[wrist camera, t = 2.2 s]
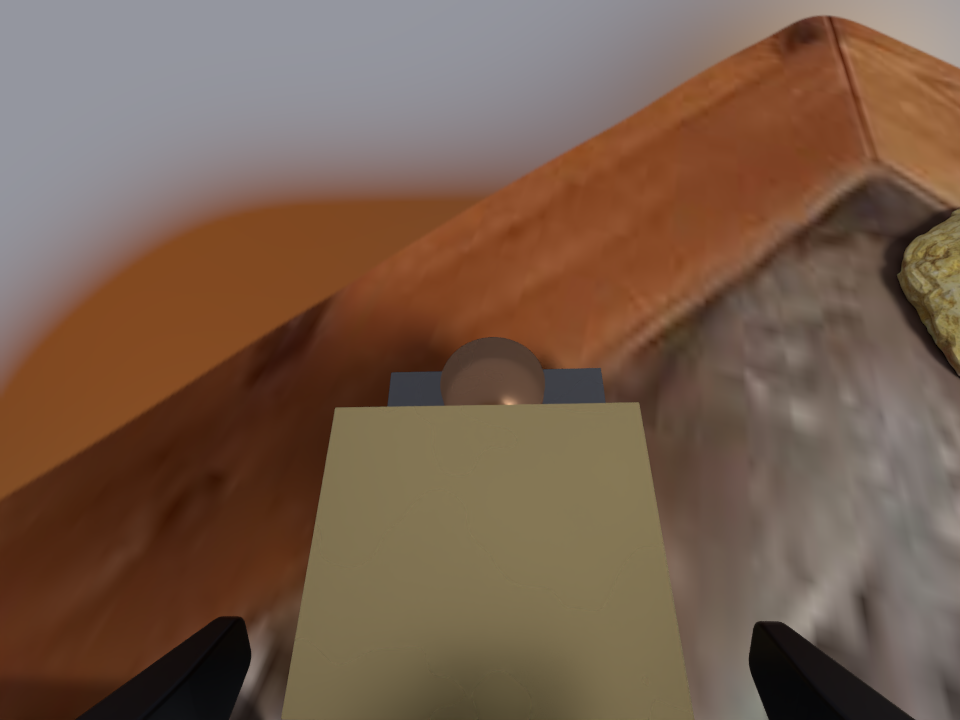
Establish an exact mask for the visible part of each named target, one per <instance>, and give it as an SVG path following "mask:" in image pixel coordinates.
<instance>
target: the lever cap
mask: <svg viewBox="0 0 960 720" xmlns="http://www.w3.org/2000/svg"><path fill="white" fill-rule="evenodd" d="M281 719H291V720H694V715H693V710H692V704H691V698H690V692H689V687H688V681H687V675H686V669H685V664H684V658H683V652H682V647H681V641H680V635H679V629H678V624H677V618H676V612H675V606H674V601H673V595H672V589H671V584H670V578H669V572H668V566H667V561H666V555H665V549H664V543H663V538H662V532H661V526H660V521H659V515H658V509H657V503H656V498H655V492H654V486H653V480H652V475H651V469H650V463H649V458H648V452H647V446H646V440H645V435H644V429H643V423H642V417H641V412H640V406H639V403H580V404H520V405H460V406H401V407H341V408H335V412H334V418H333V424H332V430H331V435H330V441H329V447H328V453H327V458H326V464H325V470H324V476H323V481H322V487H321V493H320V498H319V504H318V510H317V516H316V521H315V527H314V533H313V539H312V544H311V550H310V556H309V562H308V567H307V573H306V579H305V585H304V590H303V596H302V602H301V608H300V613H299V619H298V625H297V631H296V636H295V642H294V648H293V653H292V659H291V665H290V671H289V676H288V682H287V688H286V694H285V699H284V705H283V711H282V717H281Z"/></svg>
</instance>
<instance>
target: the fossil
mask: <svg viewBox="0 0 960 720" xmlns="http://www.w3.org/2000/svg"><path fill="white" fill-rule="evenodd" d="M903 257H904V258H903V260H902V264H901V272H900V273H899V274H897V277H898V280H899V282H900V286H901V288H902V290H903V292H904V294H905V296H906V298H907V300H908V301H909V302H910V303H911V304H912V305H913V306H914V307H915V308H916V310H917V312H918V314H919V316H920V319H921V321H922V323H923V324H924V325H925V326H926V327H927V331H928V332H929V333H930V334H931V336H932V337H933V339H934V341H935V343H936V345H937V346H938V347H939V348H940V349H941V350H942V352H943V353H944V354H945V356H946V358H947V360H948V362H949V363H950V365H951V366H952V367H953V368H954V369H955V371H956V372H957V374H958V375H959V376H960V209H958V210H956V211H954V212H952V213H951V217H950V218H949V219H947V220H946V221H944V222H942V223H940V224H938V225H937V226H935V227H933V228H932V229H931V230H930V231H929V232H927V233H926V234H923V235H920V236H918V237H916V238H915V239H914V240H913V241H912V242H911V243H910V244H909V246H908V247H907V248H906V250H905V252H904V254H903Z"/></svg>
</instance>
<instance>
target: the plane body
mask: <svg viewBox="0 0 960 720" xmlns="http://www.w3.org/2000/svg"><path fill="white" fill-rule="evenodd" d="M580 403H605V396H604V388H603V381H602V374H601V368H585V369H542V367H541V364H540V362H539V361H538V359H537V358H536V357H535V355H534V354H533V353H532V352H531V351H530V350H529V349H527V348H526V347H525V346H523V345H521V344H519V343H518V342H515V341H513V340H509V339H506V338H499V337H488V338H482V339H477V340H474V341H472V342H469V343H467V344H465V345H464V346H462V347H461V348H459V349H458V350H457V351H456V352H455V353H454V354H453V355H452V356H451V357H450V358H449V359H448V361H447V363H446V364H445V366H444V369H443V371H441V372H393V373H391V380H390V389H389V398H388V407H401V406H460V405H520V404H580Z"/></svg>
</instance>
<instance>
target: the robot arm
mask: <svg viewBox="0 0 960 720" xmlns="http://www.w3.org/2000/svg"><path fill="white" fill-rule="evenodd" d="M250 661H251V648H250V643H249V639H248V634H247V629H246V625H245V621H244V620H243V618H242V617H238V616H222V617H218V618H216V619H215V620H213V621H212V622H210V623H209V624H208V625H206V626H205V627H203V628H202V629H201V630H199V631H198V632H197V633H195V634H194V635H192V636H191V637H190V638H188V639H187V640H185V641H184V642H183V643H181V644H180V645H178V646H177V647H176V648H174V649H173V650H171V651H170V652H169V653H167V654H166V655H164V656H163V657H162V658H160V659H159V660H157V661H156V662H155V663H153V664H152V665H150V666H149V667H148V668H146V669H145V670H144V671H142V672H141V673H139V674H138V675H137V676H135V677H134V678H132V679H131V680H130V681H128V682H127V683H125V684H124V685H123V686H121V687H120V688H118V689H117V690H116V691H114V692H113V693H111V694H110V695H109V696H107V697H106V698H104V699H103V700H102V701H100V702H99V703H97V704H96V705H95V706H93V707H92V708H91V709H89V710H88V711H86V712H85V713H84V714H82V715H81V716H79V717H78V718H77V719H75V720H229V718H230V715H231V713H232V710H233V707H234V705H235V702H236V700H237V697H238V694H239V692H240V689H241V687H242V684H243V682H244V679H245V676H246V674H247V671H248V669H249V666H250ZM749 667H750V671H751V675H752V677H753V680H754V683H755V685H756V688H757V690H758V693H759V696H760V698H761V701H762V703H763V706H764V708H765V711H766V714H767V716H768V719H769V720H915V719H914V718H912V717H911V716H909V715H908V714H907V713H905V712H904V711H903V710H901V709H900V708H899V707H897V706H896V705H895V704H893V703H892V702H890V701H889V700H888V699H886V698H885V697H884V696H882V695H881V694H880V693H878V692H877V691H876V690H874V689H873V688H871V687H870V686H869V685H867V684H866V683H865V682H863V681H862V680H861V679H859V678H858V677H857V676H855V675H854V674H852V673H851V672H850V671H848V670H847V669H846V668H844V667H843V666H842V665H840V664H839V663H838V662H836V661H835V660H833V659H832V658H831V657H829V656H828V655H827V654H825V653H824V652H823V651H821V650H820V649H819V648H817V647H816V646H814V645H813V644H812V643H810V642H809V641H808V640H806V639H805V638H804V637H802V636H801V635H800V634H798V633H797V632H795V631H794V630H793V629H791V628H790V627H789V626H787V625H786V624H784V623H782V622H778V621H759V622H757V623H756V624H755V625H754V628H753V634H752V640H751V647H750V653H749Z"/></svg>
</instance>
